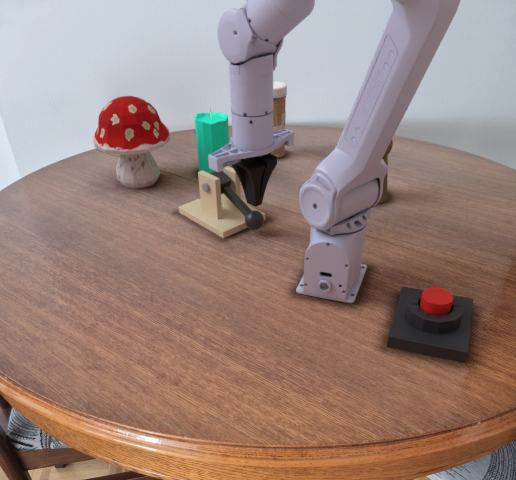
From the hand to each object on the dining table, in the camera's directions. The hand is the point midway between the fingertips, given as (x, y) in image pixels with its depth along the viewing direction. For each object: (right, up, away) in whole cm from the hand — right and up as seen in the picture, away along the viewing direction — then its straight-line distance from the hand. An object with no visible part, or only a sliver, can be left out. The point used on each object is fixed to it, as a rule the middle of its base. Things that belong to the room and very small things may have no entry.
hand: (254, 203), depth 82 cm
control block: (+22, -19, -15) cm, 33 cm away
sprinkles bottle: (+4, +17, +28) cm, 33 cm away
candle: (-8, +11, +22) cm, 26 cm away
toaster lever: (-3, 0, +4) cm, 5 cm away
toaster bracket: (-6, 0, +8) cm, 10 cm away
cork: (+20, +5, +13) cm, 25 cm away
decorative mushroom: (-22, +9, +19) cm, 30 cm away
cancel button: (+22, -17, -17) cm, 32 cm away
